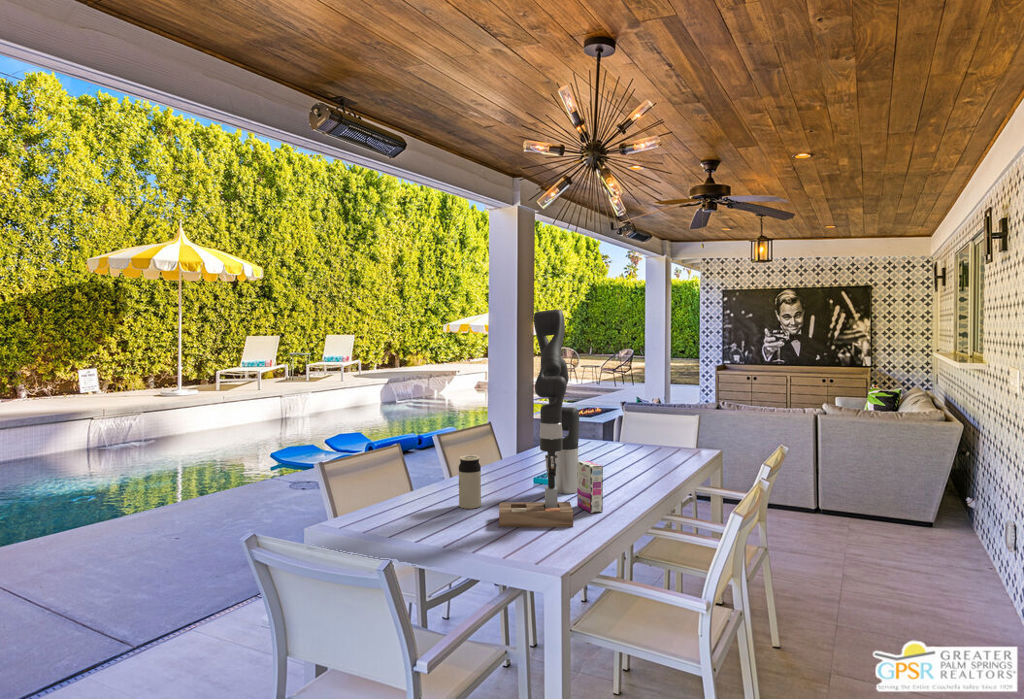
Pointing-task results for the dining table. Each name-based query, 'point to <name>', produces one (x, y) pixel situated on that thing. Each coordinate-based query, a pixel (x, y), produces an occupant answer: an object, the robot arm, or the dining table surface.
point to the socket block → (535, 515)
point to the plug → (551, 497)
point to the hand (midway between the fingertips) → (551, 487)
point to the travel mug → (469, 482)
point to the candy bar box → (590, 486)
